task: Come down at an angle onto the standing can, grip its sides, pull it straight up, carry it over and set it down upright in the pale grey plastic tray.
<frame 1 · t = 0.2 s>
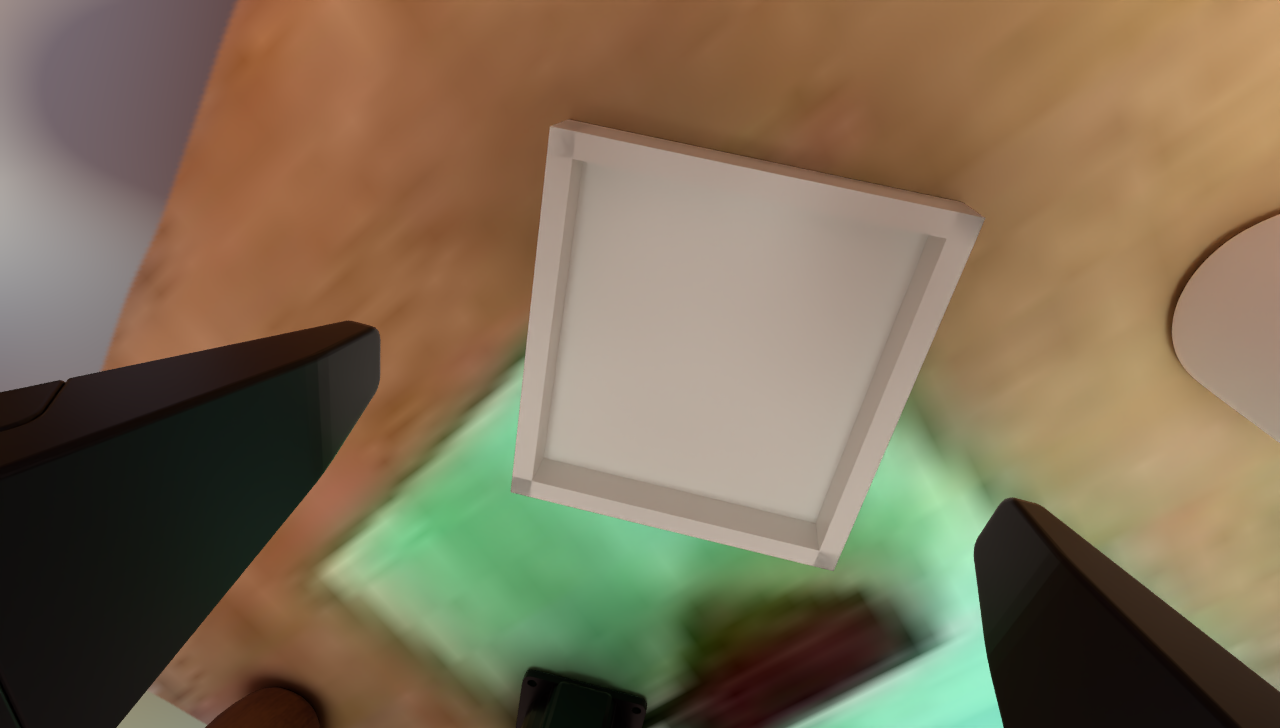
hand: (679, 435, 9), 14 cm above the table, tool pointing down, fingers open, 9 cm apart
wooden figurine: (292, 706, 38), on the table
tray: (713, 350, 24), on the table
can: (1276, 300, 21), on the table
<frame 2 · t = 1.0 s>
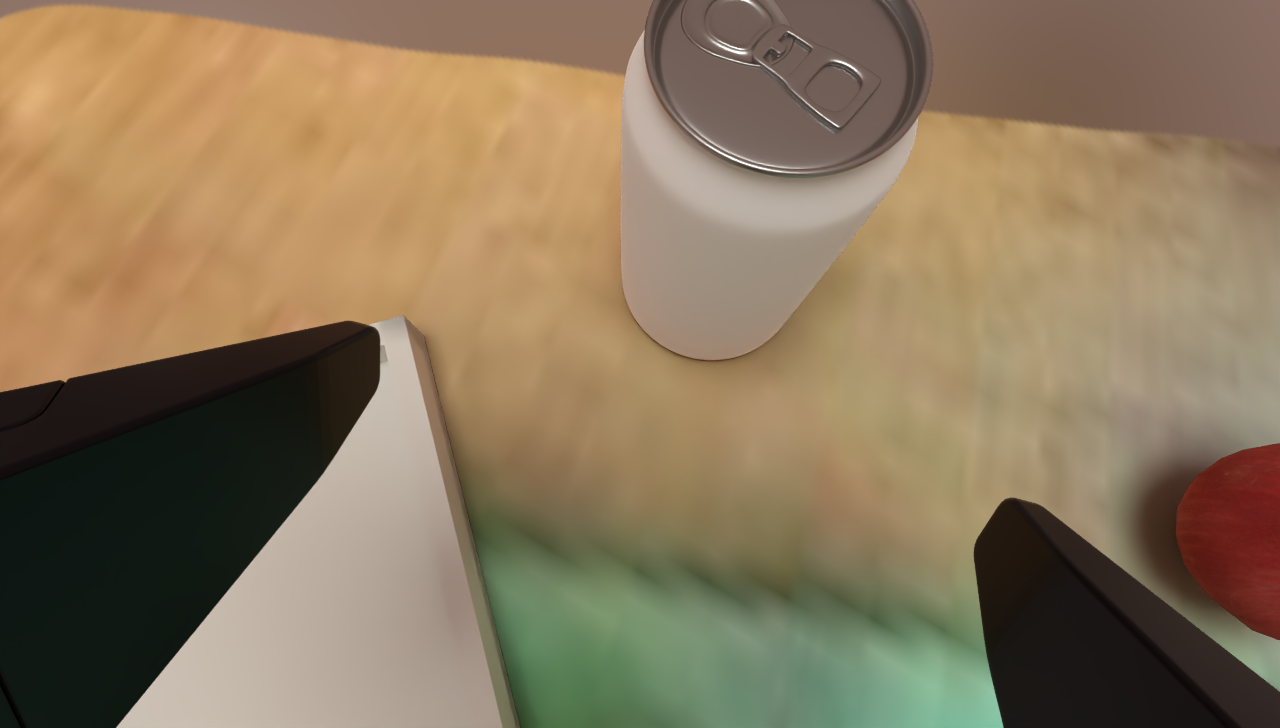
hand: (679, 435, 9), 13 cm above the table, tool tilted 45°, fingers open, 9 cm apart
tray: (273, 589, 21), on the table
can: (706, 282, 24), on the table
red rounded piece: (1192, 541, 22), on the table
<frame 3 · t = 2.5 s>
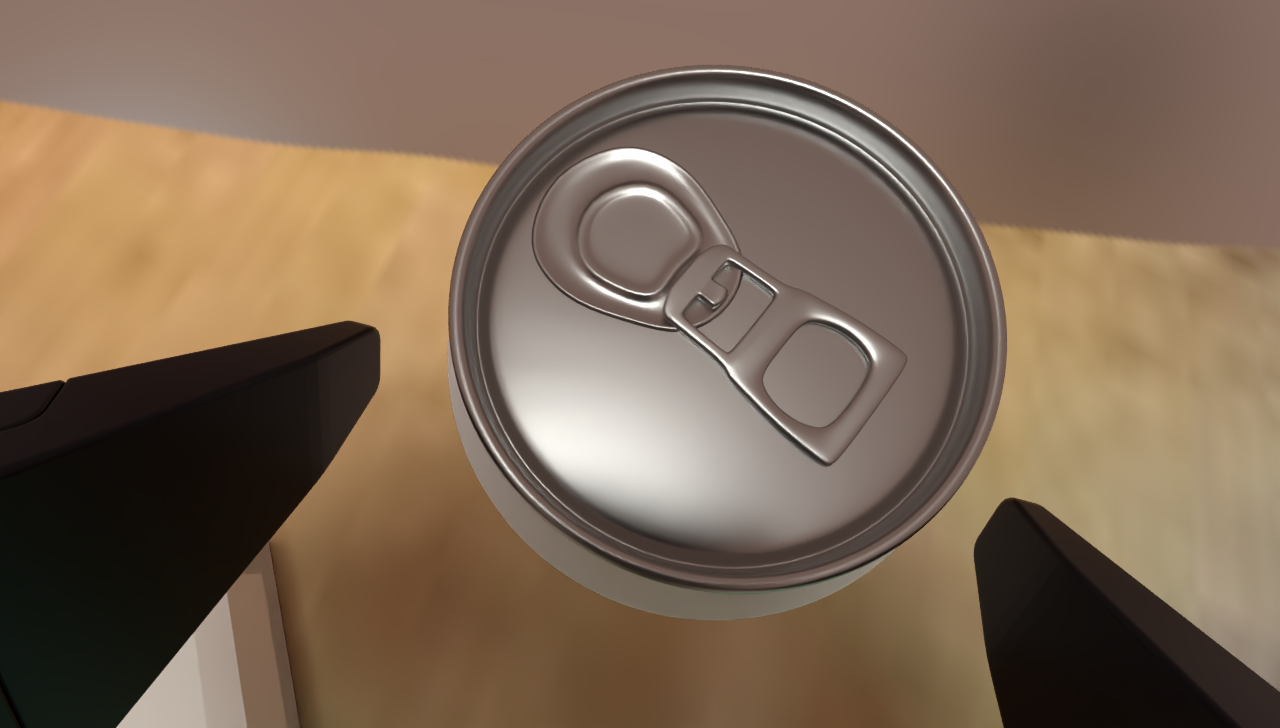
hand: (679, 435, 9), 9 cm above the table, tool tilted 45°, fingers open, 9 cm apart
can: (657, 457, 18), on the table
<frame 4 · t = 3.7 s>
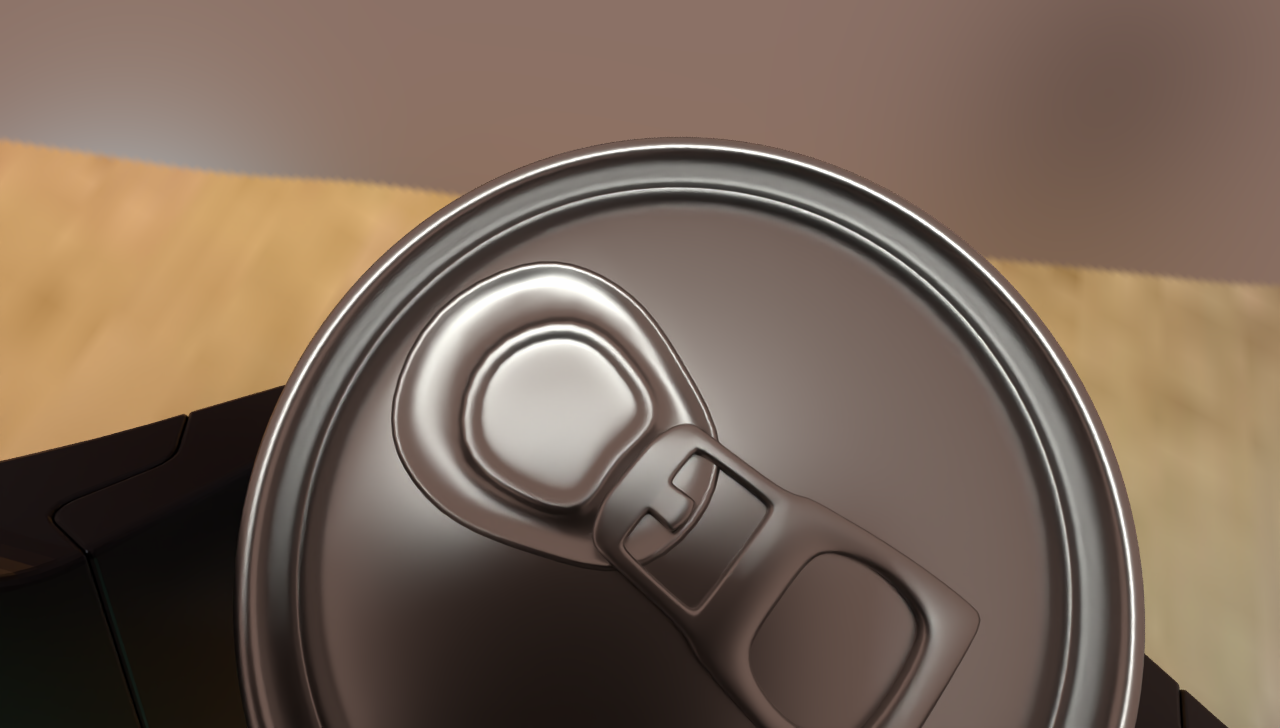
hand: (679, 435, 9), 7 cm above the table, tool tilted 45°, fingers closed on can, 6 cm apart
can: (637, 536, 16), on the table, touching gripper
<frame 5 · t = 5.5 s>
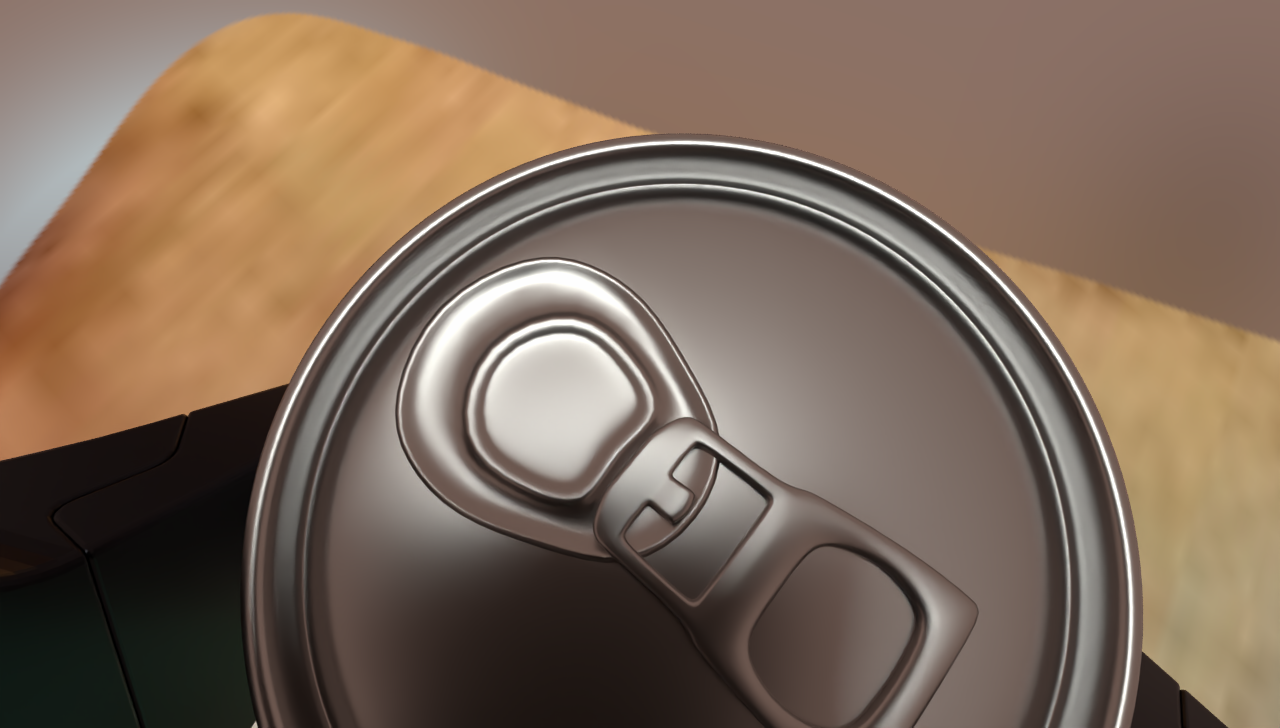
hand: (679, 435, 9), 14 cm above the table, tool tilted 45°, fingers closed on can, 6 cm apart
can: (642, 534, 16), point 6 cm above the table, touching gripper
when the fingers open (9 cm above the table, at t = 7.4 s): can stays where it is, resting on tray.
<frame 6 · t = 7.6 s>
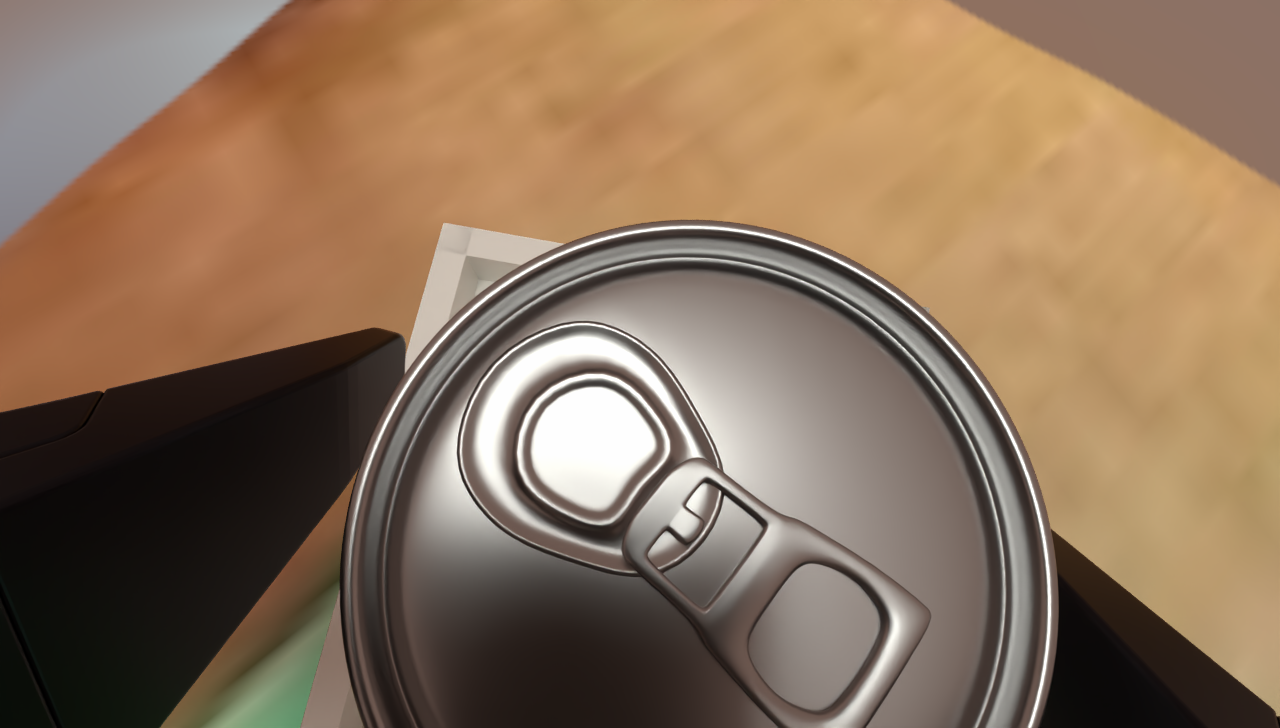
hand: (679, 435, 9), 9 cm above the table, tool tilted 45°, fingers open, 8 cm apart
tray: (636, 536, 17), on the table
can: (637, 540, 17), resting on tray
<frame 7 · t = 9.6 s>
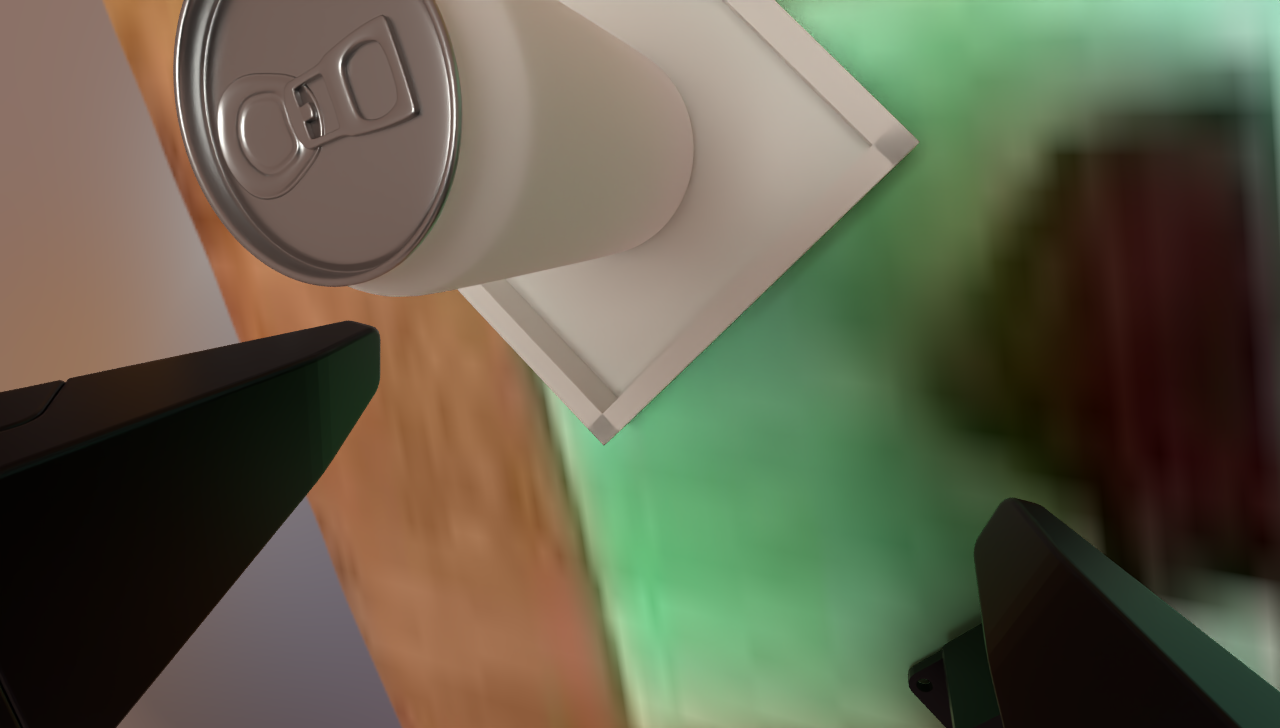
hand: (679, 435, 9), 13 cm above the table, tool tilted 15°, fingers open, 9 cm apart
tray: (606, 153, 22), on the table
can: (604, 154, 21), resting on tray
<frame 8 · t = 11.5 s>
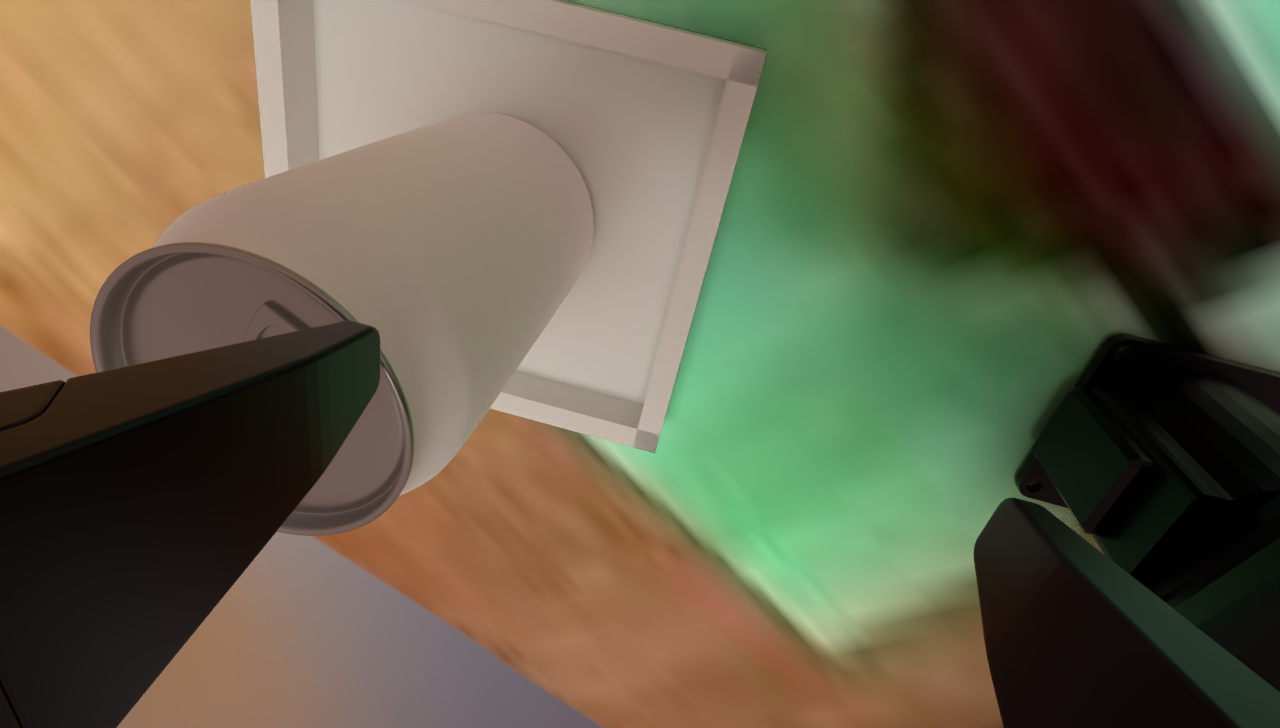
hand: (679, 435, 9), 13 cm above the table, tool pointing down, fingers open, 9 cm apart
tray: (504, 209, 22), on the table
can: (503, 213, 21), resting on tray
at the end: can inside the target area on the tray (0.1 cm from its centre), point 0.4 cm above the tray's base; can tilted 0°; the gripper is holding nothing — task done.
